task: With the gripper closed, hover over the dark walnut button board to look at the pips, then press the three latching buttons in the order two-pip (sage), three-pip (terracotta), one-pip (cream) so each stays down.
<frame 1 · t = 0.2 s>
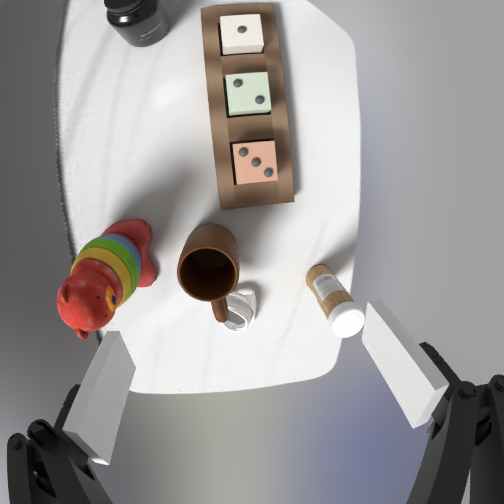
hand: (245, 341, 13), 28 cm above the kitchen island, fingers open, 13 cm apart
two-pip button: (247, 93, 30), point 3 cm above the kitchen island, slide at 0.0 cm
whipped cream: (236, 307, 45), on the kitchen island
stacking bear: (125, 252, 40), on the kitchen island
one-pip button: (241, 33, 27), point 3 cm above the kitchen island, slide at 0.0 cm
mug: (215, 260, 42), on the kitchen island
sprinkles bottle: (318, 275, 44), on the kitchen island
three-pip button: (254, 161, 34), point 3 cm above the kitchen island, slide at 0.0 cm
supplement bottle: (148, 29, 28), on the kitchen island
button board: (246, 98, 33), on the kitchen island
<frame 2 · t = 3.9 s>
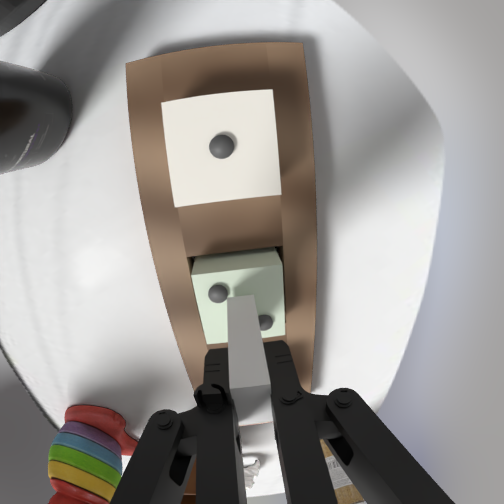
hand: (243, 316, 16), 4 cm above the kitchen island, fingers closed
two-pip button: (240, 295, 17), point 2 cm above the kitchen island, slide at 0.9 cm, touching gripper
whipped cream: (237, 464, 32), on the kitchen island
stacking bear: (99, 425, 26), on the kitchen island
one-pip button: (222, 146, 13), point 3 cm above the kitchen island, slide at 0.0 cm
mug: (205, 441, 28), on the kitchen island
sprinkles bottle: (327, 440, 31), on the kitchen island
three-pip button: (254, 394, 20), point 3 cm above the kitchen island, slide at 0.0 cm
supplement bottle: (41, 119, 14), on the kitchen island
button board: (238, 278, 19), on the kitchen island
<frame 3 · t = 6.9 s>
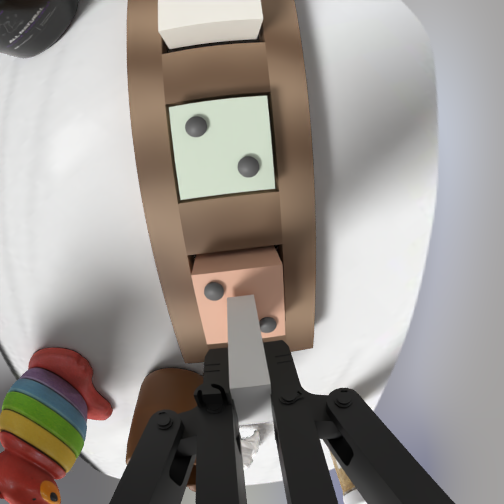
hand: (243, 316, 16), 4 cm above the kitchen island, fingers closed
two-pip button: (222, 146, 15), point 2 cm above the kitchen island, slide at 1.5 cm
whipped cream: (232, 438, 29), on the kitchen island
stacking bear: (66, 379, 23), on the kitchen island
mug: (187, 401, 25), on the kitchen island
sprinkles bottle: (335, 406, 28), on the kitchen island
three-pip button: (240, 295, 17), point 3 cm above the kitchen island, slide at 0.7 cm, touching gripper
supplement bottle: (47, 22, 10), on the kitchen island
button board: (223, 145, 16), on the kitchen island
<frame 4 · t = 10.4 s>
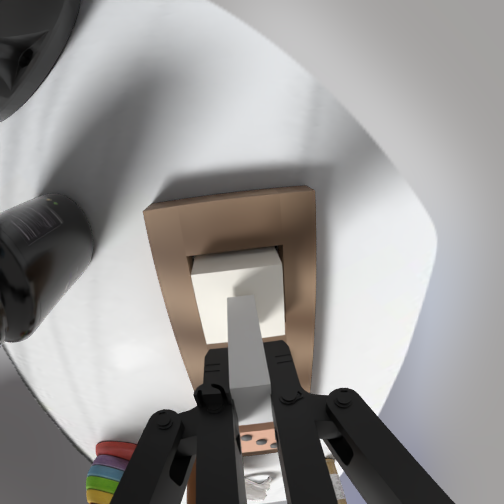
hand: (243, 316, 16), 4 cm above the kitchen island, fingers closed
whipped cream: (251, 479, 36), on the kitchen island
stacking bear: (126, 454, 30), on the kitchen island
one-pip button: (240, 295, 17), point 2 cm above the kitchen island, slide at 0.8 cm
mug: (218, 465, 32), on the kitchen island
sprinkles bottle: (320, 462, 34), on the kitchen island
three-pip button: (259, 430, 25), point 2 cm above the kitchen island, slide at 1.5 cm
supplement bottle: (61, 234, 17), on the kitchen island
button board: (250, 366, 23), on the kitchen island
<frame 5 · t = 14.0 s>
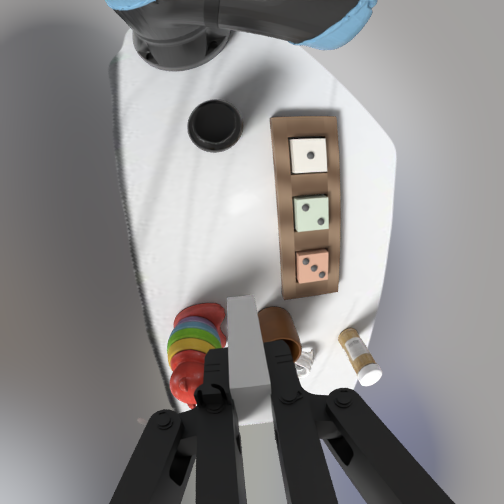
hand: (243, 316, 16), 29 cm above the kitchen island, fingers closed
two-pip button: (310, 212, 43), point 2 cm above the kitchen island, slide at 1.5 cm
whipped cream: (297, 358, 57), on the kitchen island
stacking bear: (199, 325, 51), on the kitchen island
one-pip button: (307, 155, 39), point 2 cm above the kitchen island, slide at 1.5 cm
mug: (273, 329, 53), on the kitchen island
sprinkles bottle: (347, 335, 55), on the kitchen island
three-pip button: (311, 264, 46), point 2 cm above the kitchen island, slide at 1.5 cm
supplement bottle: (217, 129, 38), on the kitchen island
button board: (307, 209, 44), on the kitchen island
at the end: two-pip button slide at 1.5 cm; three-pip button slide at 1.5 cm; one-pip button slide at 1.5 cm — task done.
